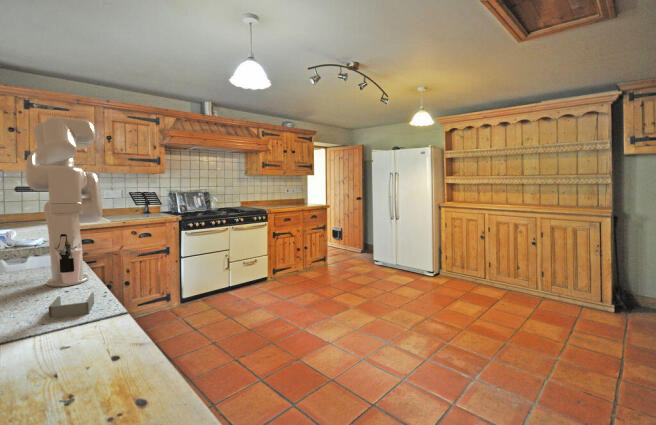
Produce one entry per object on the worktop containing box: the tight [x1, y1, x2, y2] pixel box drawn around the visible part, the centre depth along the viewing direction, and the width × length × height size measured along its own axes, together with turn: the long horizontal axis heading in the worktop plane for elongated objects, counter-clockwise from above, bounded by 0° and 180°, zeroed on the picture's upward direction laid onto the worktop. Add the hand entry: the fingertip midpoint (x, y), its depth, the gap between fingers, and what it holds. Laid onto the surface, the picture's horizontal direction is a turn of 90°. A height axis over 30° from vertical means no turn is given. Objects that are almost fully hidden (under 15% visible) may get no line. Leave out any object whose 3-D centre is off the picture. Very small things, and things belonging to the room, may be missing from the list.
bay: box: [48, 292, 95, 320], centre depth 102 cm, size 9×9×4 cm
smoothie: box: [56, 246, 84, 283], centre depth 100 cm, size 6×6×14 cm
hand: (70, 268), depth 100 cm, fingers closed on smoothie, 6 cm apart
